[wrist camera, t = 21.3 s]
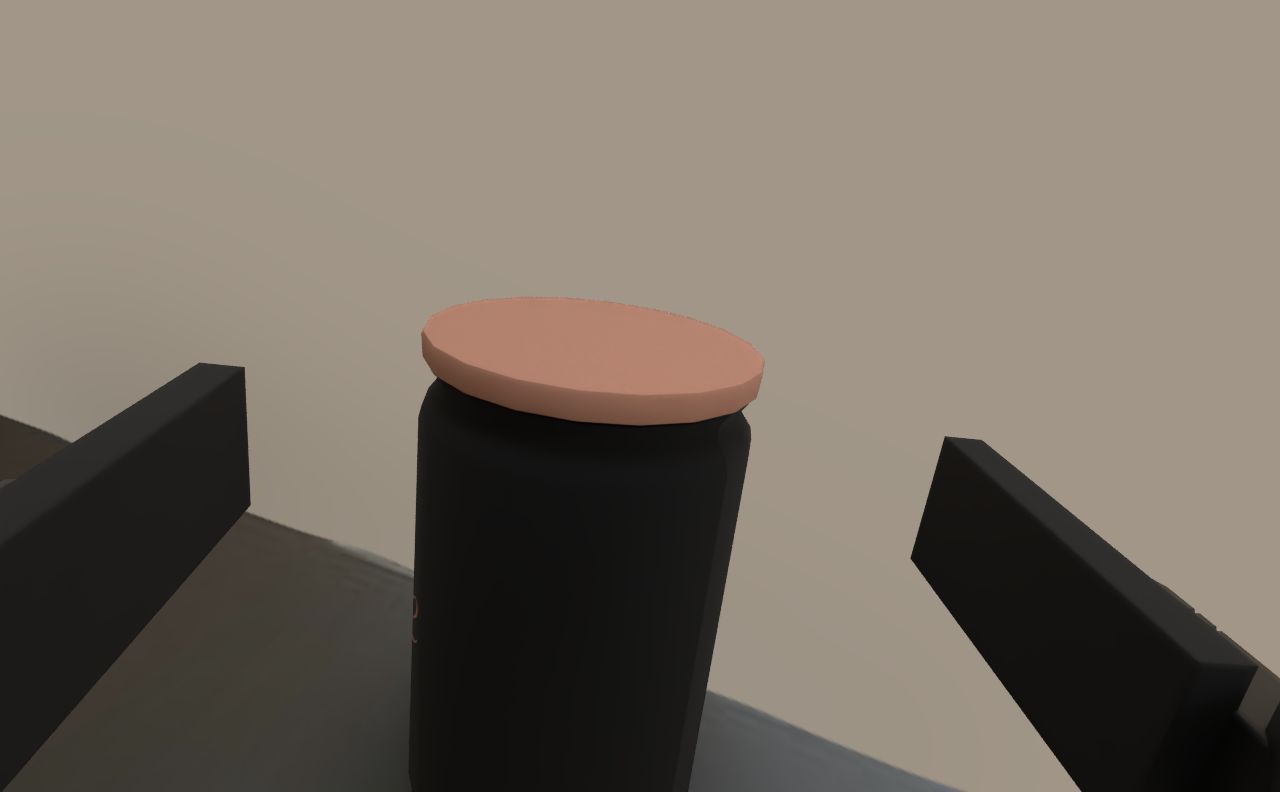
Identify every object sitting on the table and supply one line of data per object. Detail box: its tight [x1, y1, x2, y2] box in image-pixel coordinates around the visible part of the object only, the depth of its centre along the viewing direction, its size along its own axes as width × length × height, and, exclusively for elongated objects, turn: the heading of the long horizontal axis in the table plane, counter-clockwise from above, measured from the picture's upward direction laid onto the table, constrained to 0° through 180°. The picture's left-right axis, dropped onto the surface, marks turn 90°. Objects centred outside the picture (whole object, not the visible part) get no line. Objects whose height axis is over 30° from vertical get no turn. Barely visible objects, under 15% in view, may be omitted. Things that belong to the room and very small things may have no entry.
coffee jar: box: [409, 297, 764, 792], centre depth 27 cm, size 11×11×18 cm
